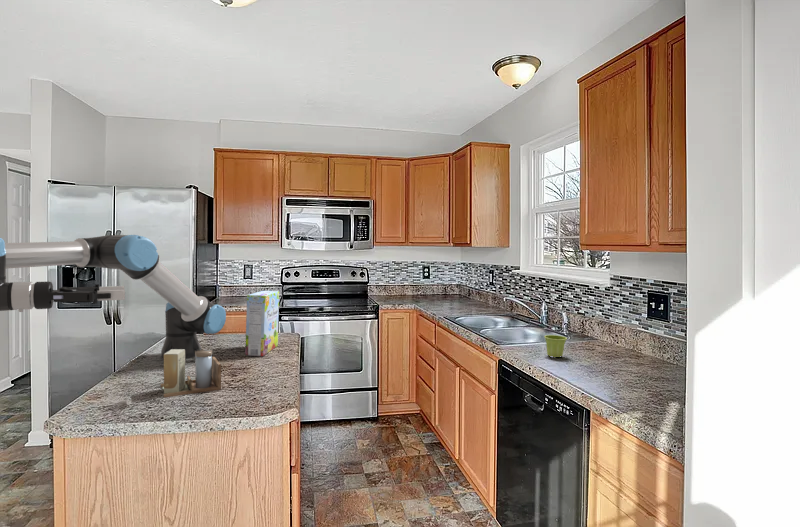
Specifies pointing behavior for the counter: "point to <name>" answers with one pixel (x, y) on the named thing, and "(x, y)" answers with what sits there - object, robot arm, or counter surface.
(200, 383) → the spice jar
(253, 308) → the snack box
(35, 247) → the robot arm
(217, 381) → the rack
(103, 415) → the counter surface
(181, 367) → the skincare box
